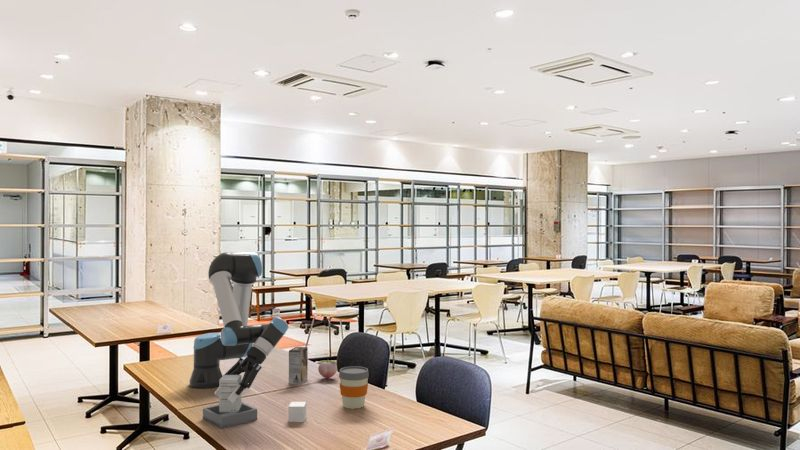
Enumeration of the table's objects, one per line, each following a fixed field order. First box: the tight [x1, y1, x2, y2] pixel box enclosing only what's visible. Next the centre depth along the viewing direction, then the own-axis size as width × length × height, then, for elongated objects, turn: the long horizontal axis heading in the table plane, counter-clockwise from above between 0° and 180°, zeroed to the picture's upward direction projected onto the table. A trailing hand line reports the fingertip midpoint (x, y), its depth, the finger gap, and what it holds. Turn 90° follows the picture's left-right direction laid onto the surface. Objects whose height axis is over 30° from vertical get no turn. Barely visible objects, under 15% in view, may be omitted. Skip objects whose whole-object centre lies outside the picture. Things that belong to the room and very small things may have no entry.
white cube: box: [288, 401, 307, 423], centre depth 223 cm, size 6×6×6 cm
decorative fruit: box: [318, 358, 338, 380], centre depth 283 cm, size 9×8×10 cm
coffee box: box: [288, 346, 309, 385], centre depth 276 cm, size 9×6×16 cm
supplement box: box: [218, 374, 242, 412], centre depth 223 cm, size 7×7×13 cm
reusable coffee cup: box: [338, 365, 370, 410], centre depth 241 cm, size 12×13×15 cm
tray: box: [202, 401, 258, 429], centre depth 223 cm, size 15×15×4 cm
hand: (223, 398), depth 220 cm, fingers closed on supplement box, 10 cm apart
